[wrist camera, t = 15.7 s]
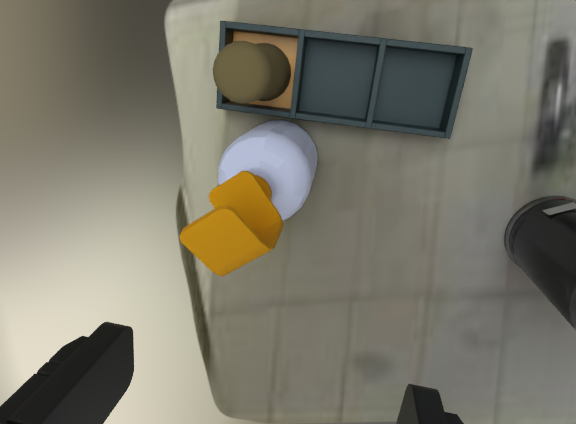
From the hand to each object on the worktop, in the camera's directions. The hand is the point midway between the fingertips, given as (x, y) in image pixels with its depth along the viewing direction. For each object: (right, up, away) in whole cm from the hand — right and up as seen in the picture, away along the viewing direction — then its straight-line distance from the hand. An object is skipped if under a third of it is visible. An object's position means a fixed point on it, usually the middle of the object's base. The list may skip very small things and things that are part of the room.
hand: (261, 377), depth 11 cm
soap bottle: (0, +11, +36) cm, 38 cm away
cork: (-2, +20, +32) cm, 38 cm away
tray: (+6, +19, +32) cm, 38 cm away
